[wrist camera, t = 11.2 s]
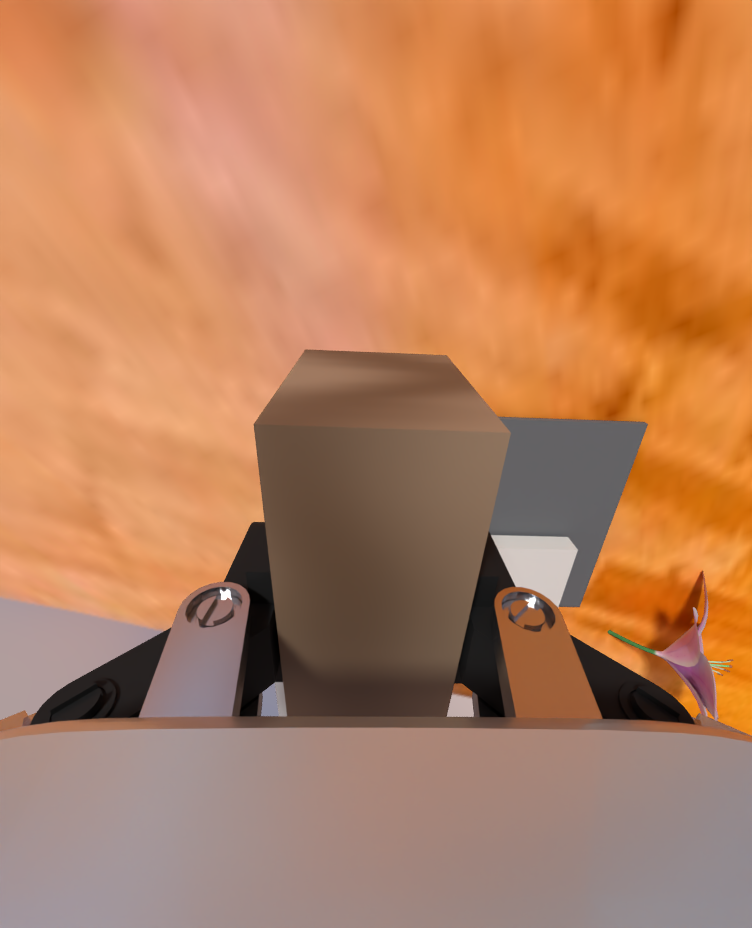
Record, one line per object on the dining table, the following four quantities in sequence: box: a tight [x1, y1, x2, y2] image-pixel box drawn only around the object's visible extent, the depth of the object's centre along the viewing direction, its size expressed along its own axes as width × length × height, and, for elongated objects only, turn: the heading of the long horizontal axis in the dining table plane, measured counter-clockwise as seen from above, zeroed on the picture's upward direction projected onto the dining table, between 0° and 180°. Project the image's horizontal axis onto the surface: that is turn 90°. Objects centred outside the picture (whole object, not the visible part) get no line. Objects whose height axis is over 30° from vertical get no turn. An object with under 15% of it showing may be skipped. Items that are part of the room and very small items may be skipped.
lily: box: [608, 573, 733, 721], centre depth 30 cm, size 12×12×10 cm
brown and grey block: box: [254, 350, 511, 717], centre depth 11 cm, size 7×17×5 cm, turn 178°
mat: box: [489, 417, 648, 607], centre depth 28 cm, size 14×16×1 cm
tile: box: [491, 535, 578, 607], centre depth 29 cm, size 8×2×8 cm
